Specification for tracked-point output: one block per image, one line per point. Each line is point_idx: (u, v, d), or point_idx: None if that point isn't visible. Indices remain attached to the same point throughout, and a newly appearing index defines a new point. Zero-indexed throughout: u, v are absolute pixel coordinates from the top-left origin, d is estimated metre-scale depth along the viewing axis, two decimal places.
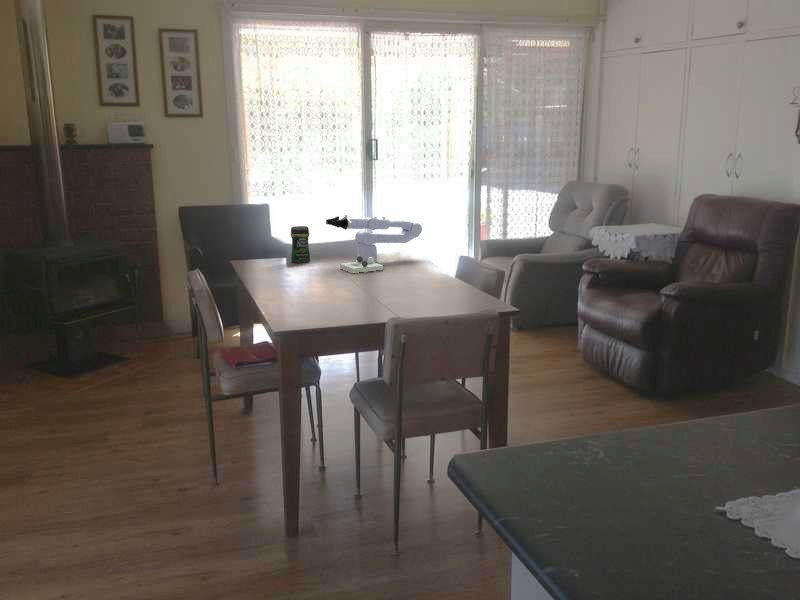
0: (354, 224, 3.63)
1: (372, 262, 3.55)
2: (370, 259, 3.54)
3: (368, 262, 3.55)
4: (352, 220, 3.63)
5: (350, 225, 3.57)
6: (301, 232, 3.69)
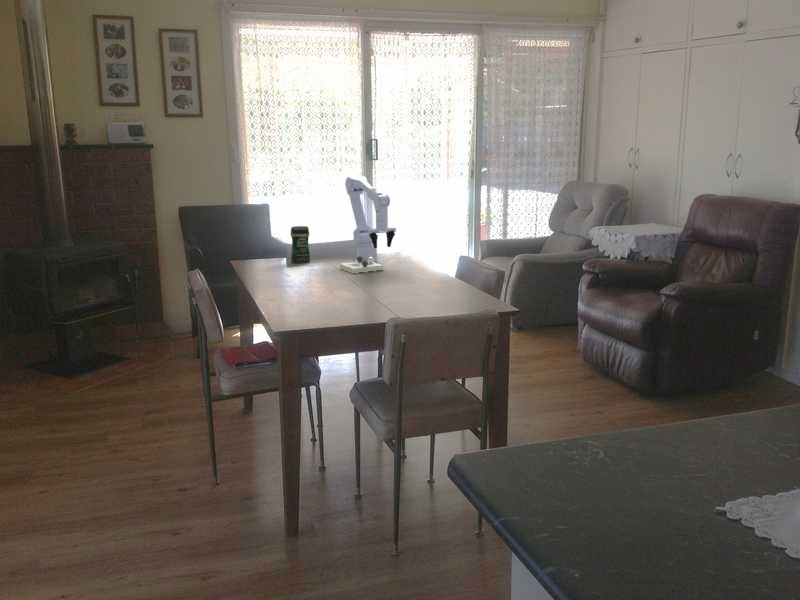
0: None
1: (372, 262, 3.55)
2: (370, 259, 3.54)
3: (368, 262, 3.55)
4: (387, 224, 3.54)
5: None
6: (301, 232, 3.69)
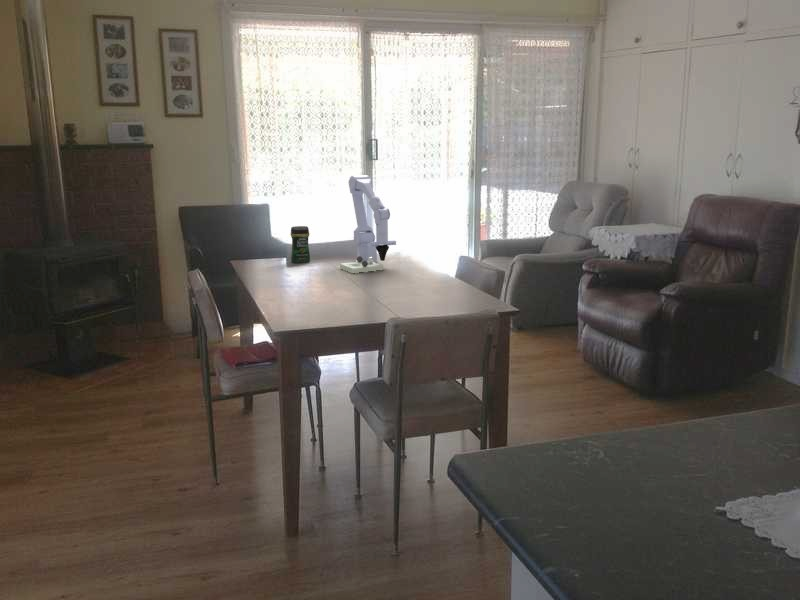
0: None
1: (372, 262, 3.55)
2: (370, 259, 3.54)
3: (368, 262, 3.55)
4: (387, 237, 3.56)
5: None
6: (301, 232, 3.69)
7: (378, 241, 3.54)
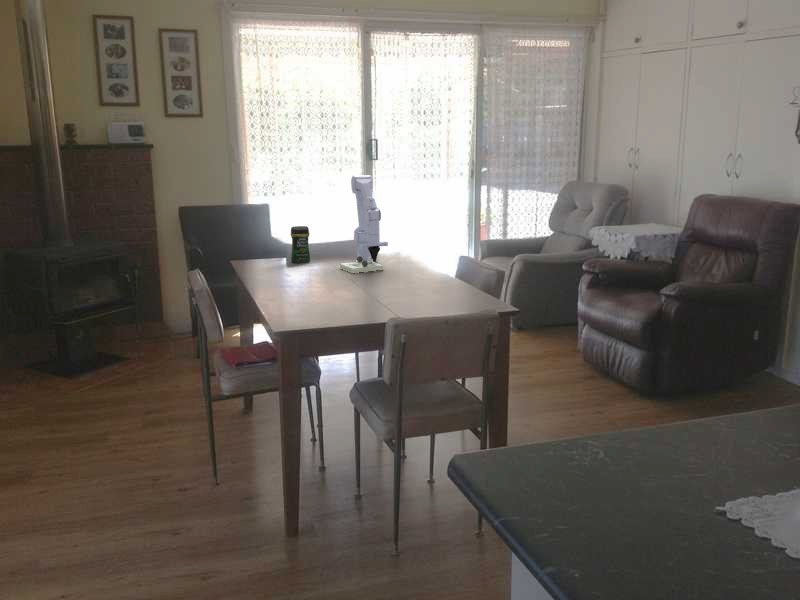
0: None
1: (372, 262, 3.55)
2: (370, 259, 3.54)
3: (368, 262, 3.55)
4: (379, 238, 3.54)
5: None
6: (301, 232, 3.69)
7: (370, 242, 3.52)
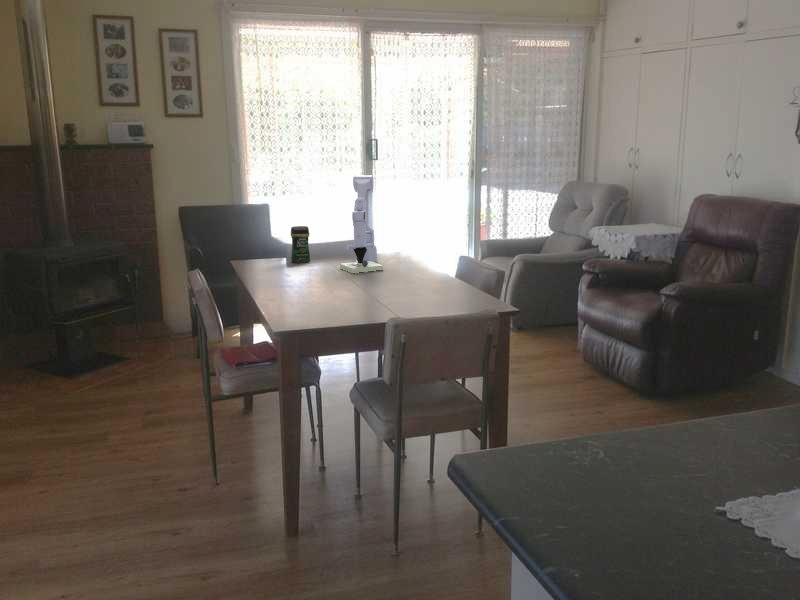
0: None
1: None
2: None
3: (356, 263, 3.53)
4: (365, 239, 3.50)
5: None
6: (301, 232, 3.69)
7: (356, 243, 3.49)
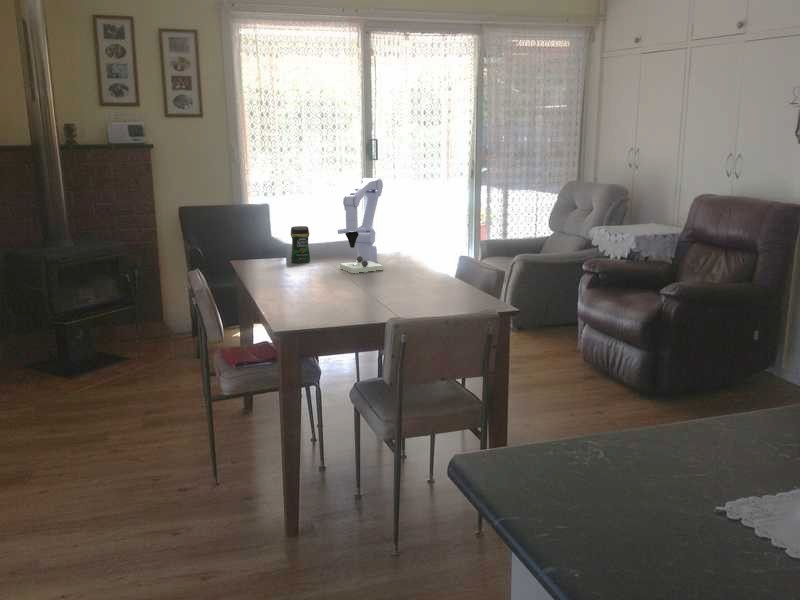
0: None
1: None
2: None
3: (354, 264, 3.51)
4: (357, 224, 3.56)
5: None
6: (301, 232, 3.69)
7: (348, 228, 3.54)
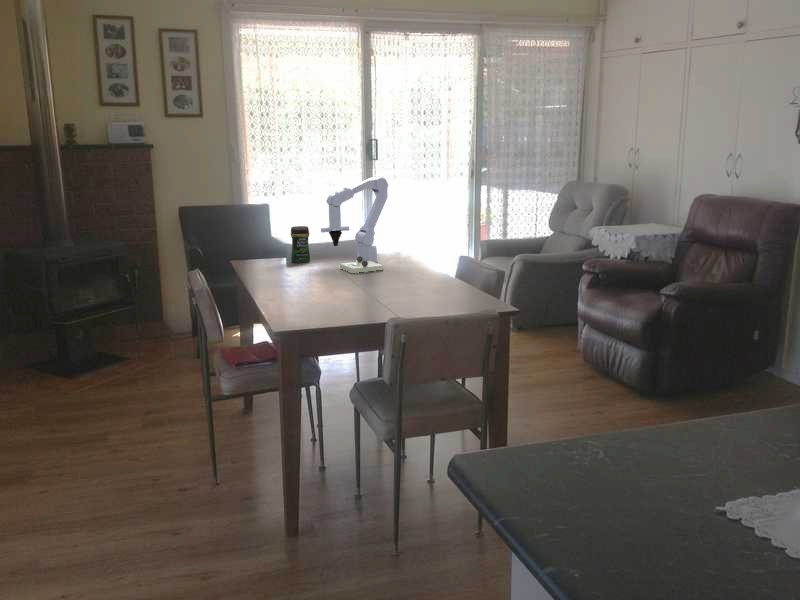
0: None
1: None
2: None
3: (354, 264, 3.51)
4: (340, 223, 3.61)
5: None
6: (301, 232, 3.69)
7: (331, 226, 3.59)
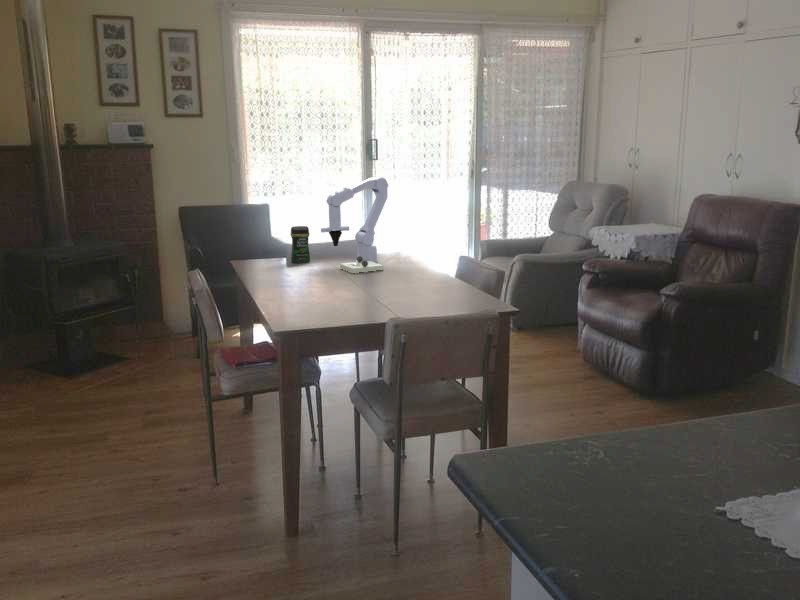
0: None
1: None
2: None
3: (354, 264, 3.51)
4: (340, 223, 3.61)
5: None
6: (301, 232, 3.69)
7: (331, 226, 3.59)
